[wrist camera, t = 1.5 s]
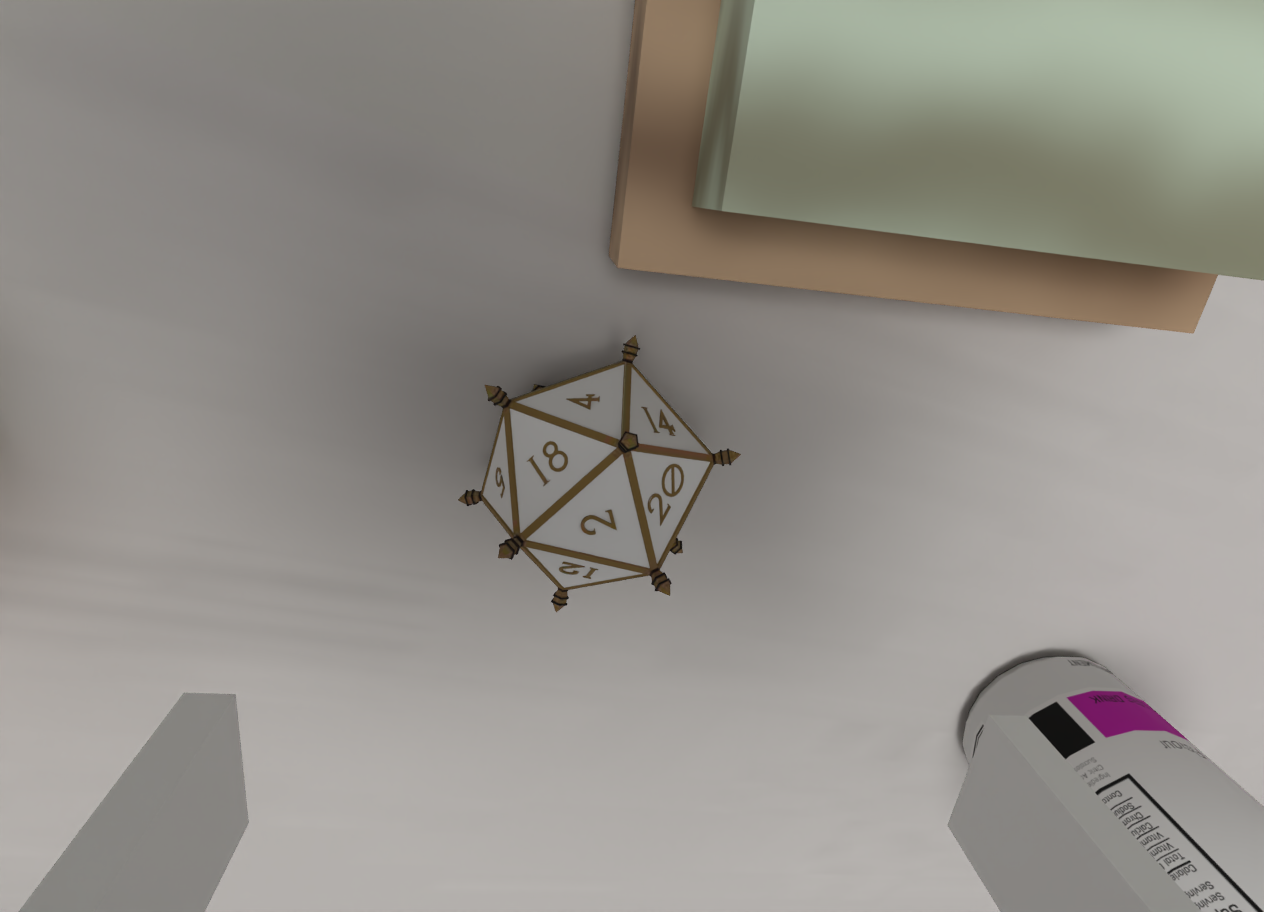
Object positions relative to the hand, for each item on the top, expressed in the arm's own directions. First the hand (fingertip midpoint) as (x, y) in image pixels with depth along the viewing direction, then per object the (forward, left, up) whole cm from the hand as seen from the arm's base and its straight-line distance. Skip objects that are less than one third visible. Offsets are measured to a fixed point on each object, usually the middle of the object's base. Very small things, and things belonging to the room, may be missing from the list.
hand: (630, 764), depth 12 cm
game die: (0, 0, -16) cm, 16 cm away
